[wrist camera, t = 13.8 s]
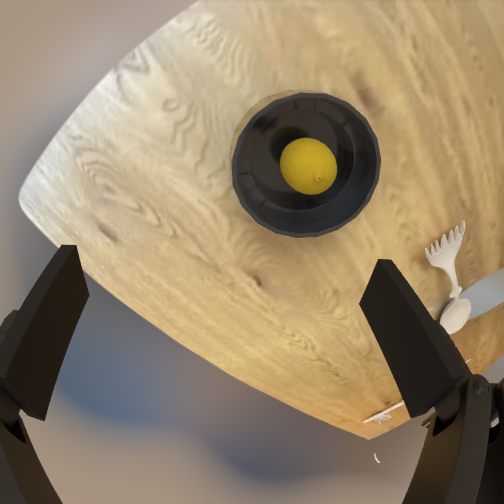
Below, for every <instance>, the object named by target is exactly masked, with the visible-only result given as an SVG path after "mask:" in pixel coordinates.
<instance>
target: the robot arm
mask: <svg viewBox="0 0 504 504" xmlns="http://www.w3.org/2000/svg"><path fill="white" fill-rule="evenodd" d="M88 297H89V292H88V288H87V285H86V281H85V278H84V274H83V270H82V266H81V262H80V258H79V254H78V250H77V245H61V247H60V248H59V249H58V251H57V252H56V254H55V255H54V256H53V258H52V259H51V261H50V262H49V264H48V265H47V266H46V268H45V269H44V271H43V272H42V274H41V275H40V277H39V278H38V280H37V282H36V283H35V285H34V286H33V288H32V289H31V291H30V293H29V294H28V296H27V298H26V299H25V301H24V302H23V304H22V306H21V308H20V309H19V311H18V310H13V311H12V312H11V313H10V314H9V315H8V316H7V317H6V318H5V319H4V321H3V323H2V324H1V326H0V504H63V503H62V502H61V500H60V498H59V497H58V495H57V493H56V491H55V490H54V488H53V486H52V485H51V483H50V481H49V479H48V477H47V475H46V473H45V471H44V469H43V467H42V465H41V463H40V461H39V459H38V457H37V454H36V452H35V450H34V448H33V446H32V443H31V441H30V438H29V436H28V434H27V431H26V428H25V426H24V423H23V420H22V418H21V417H20V415H19V412H20V408H21V409H22V410H23V411H24V412H25V413H26V414H27V415H28V416H30V417H33V418H36V419H39V420H42V421H44V420H45V417H46V414H47V410H48V407H49V403H50V399H51V396H52V393H53V389H54V386H55V383H56V380H57V377H58V374H59V371H60V367H61V365H62V362H63V359H64V357H65V354H66V351H67V348H68V346H69V343H70V340H71V338H72V335H73V333H74V330H75V327H76V325H77V323H78V320H79V318H80V316H81V313H82V311H83V308H84V306H85V304H86V302H87V300H88ZM359 305H360V307H361V309H362V311H363V313H364V315H365V317H366V319H367V321H368V323H369V325H370V327H371V329H372V331H373V333H374V335H375V337H376V340H377V342H378V344H379V346H380V348H381V350H382V352H383V354H384V357H385V359H386V361H387V363H388V365H389V368H390V370H391V372H392V374H393V377H394V379H395V381H396V384H397V386H398V388H399V391H400V393H401V395H402V398H403V400H404V403H405V405H406V407H407V410H408V412H409V415H410V417H411V418H414V417H417V416H420V415H423V414H425V413H426V412H428V411H429V410H430V409H431V408H432V407H433V406H434V407H435V410H436V411H435V412H434V413H433V414H432V415H430V416H429V417H428V418H427V419H426V420H425V421H423V423H422V425H421V426H424V425H426V424H427V423H428V422H429V421H430V424H429V425H428V426H427V427H426V428H428V432H427V435H426V439H425V442H424V446H423V449H422V452H421V455H420V458H419V461H418V464H417V467H416V470H415V473H414V475H413V479H412V481H411V483H410V486H409V488H408V491H407V493H406V496H405V498H404V500H403V502H402V504H504V378H503V379H502V380H501V381H500V382H499V383H498V384H497V383H489V382H488V381H487V380H486V378H484V377H483V376H482V375H479V374H474V375H473V374H472V373H471V371H470V369H469V368H468V366H467V364H466V362H465V361H464V359H463V357H462V356H461V354H460V352H459V351H458V349H457V347H455V344H454V342H453V341H452V339H450V338H451V337H450V336H449V334H448V333H447V331H446V330H445V328H444V327H443V326H442V325H441V324H440V323H439V322H437V321H436V320H433V318H432V317H431V315H430V314H429V312H428V311H427V309H426V308H425V306H424V305H423V303H422V302H421V300H420V299H419V297H418V296H417V294H416V293H415V292H414V290H413V289H412V287H411V286H410V285H409V283H408V282H407V280H406V279H405V278H404V276H403V275H402V273H401V272H400V271H399V269H398V268H397V267H396V265H395V264H394V263H393V261H392V260H388V259H378V261H377V263H376V266H375V268H374V271H373V273H372V275H371V278H370V280H369V282H368V285H367V287H366V289H365V292H364V294H363V296H362V298H361V301H360V303H359ZM497 417H499V423H498V424H497V425H496V426H494V427H493V428H492V427H491V422H492V421H494V420H495V419H496V418H497Z"/></svg>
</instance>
